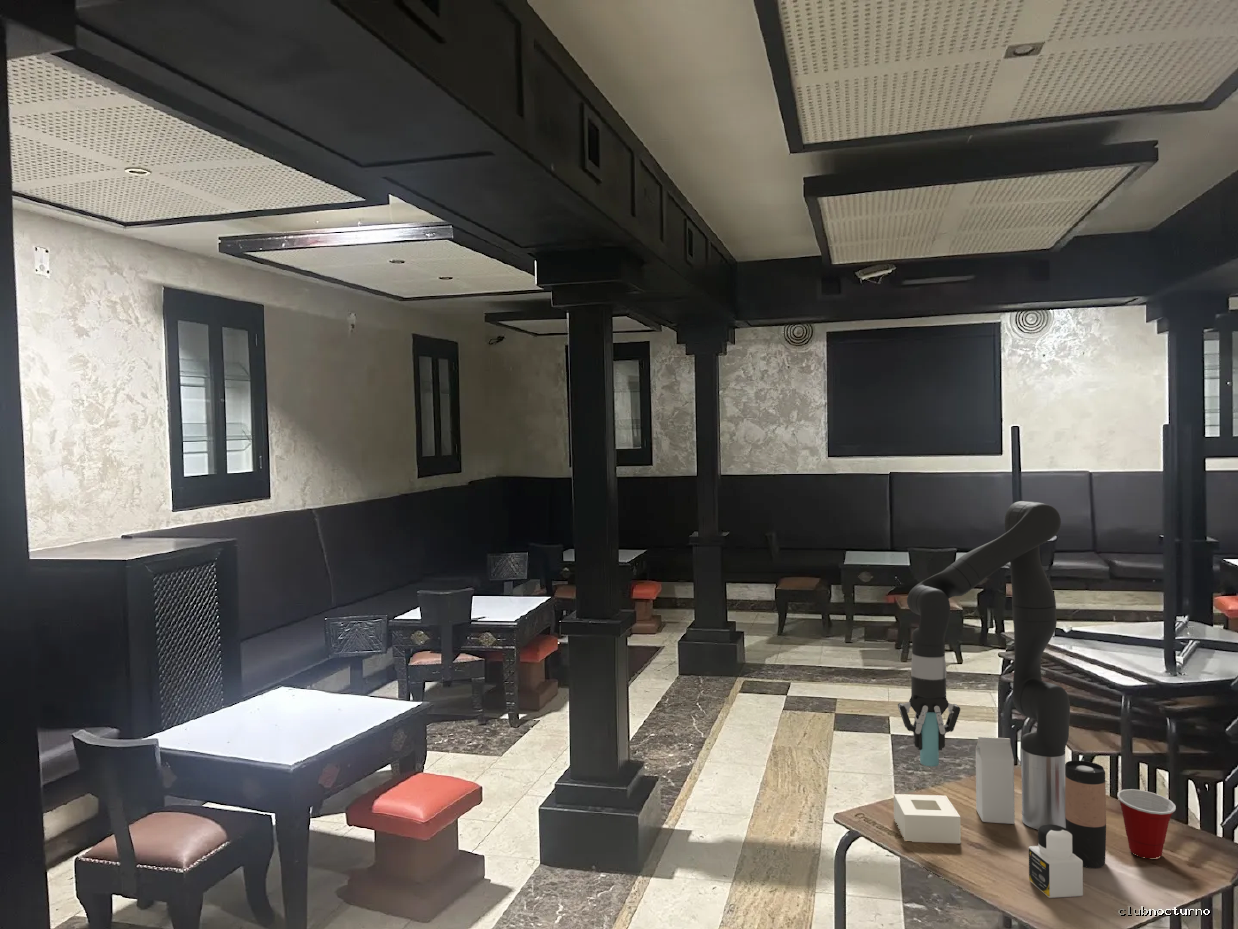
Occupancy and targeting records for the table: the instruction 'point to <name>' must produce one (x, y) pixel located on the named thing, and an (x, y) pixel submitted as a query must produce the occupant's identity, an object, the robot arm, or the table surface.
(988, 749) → the milk carton
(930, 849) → the table surface
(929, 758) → the peg
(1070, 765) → the travel mug
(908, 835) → the socket block
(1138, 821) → the plastic cup
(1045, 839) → the medicine bottle
